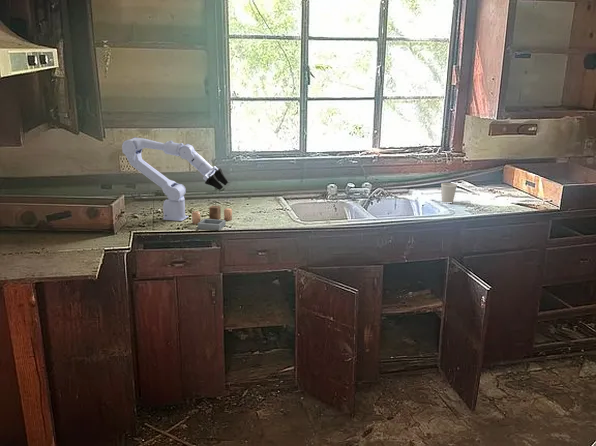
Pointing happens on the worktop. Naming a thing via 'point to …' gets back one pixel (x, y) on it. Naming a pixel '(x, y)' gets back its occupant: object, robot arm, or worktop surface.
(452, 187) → the dixie cup
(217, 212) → the walnut block
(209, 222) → the tray
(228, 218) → the tan cylinder
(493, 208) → the worktop surface
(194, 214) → the tan cylinder
